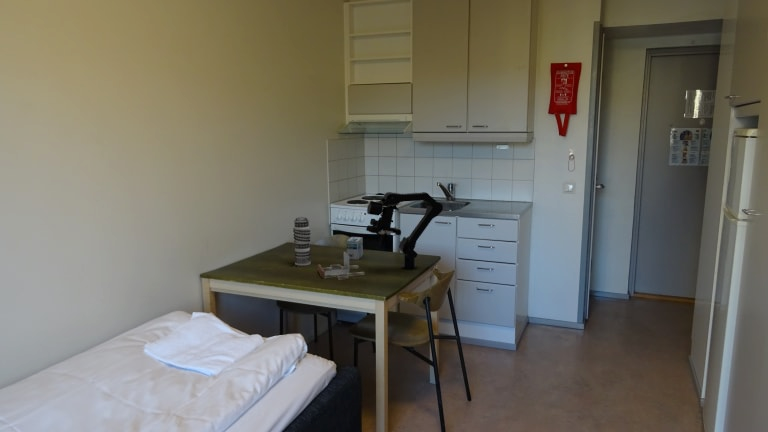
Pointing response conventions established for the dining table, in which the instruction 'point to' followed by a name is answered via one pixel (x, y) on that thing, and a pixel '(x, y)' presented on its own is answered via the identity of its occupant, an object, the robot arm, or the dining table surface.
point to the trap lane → (337, 267)
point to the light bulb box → (355, 247)
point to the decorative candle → (302, 241)
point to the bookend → (341, 271)
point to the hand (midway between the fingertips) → (380, 246)
